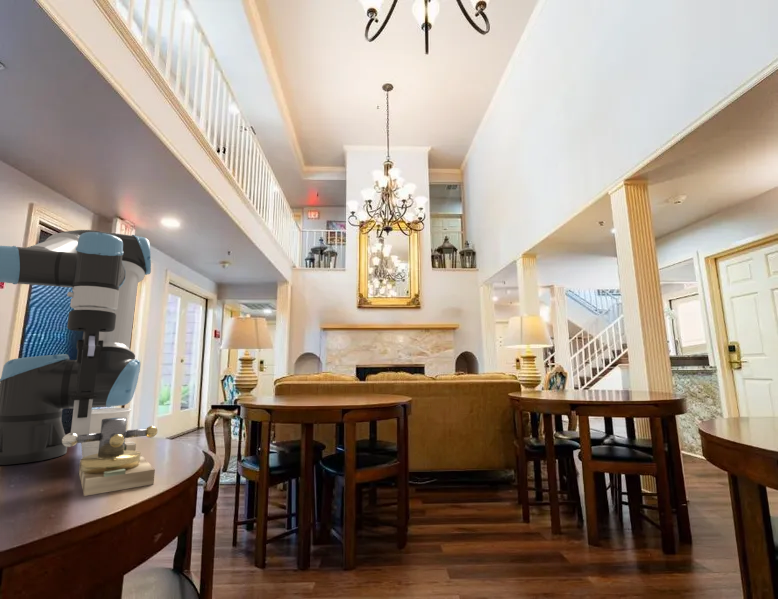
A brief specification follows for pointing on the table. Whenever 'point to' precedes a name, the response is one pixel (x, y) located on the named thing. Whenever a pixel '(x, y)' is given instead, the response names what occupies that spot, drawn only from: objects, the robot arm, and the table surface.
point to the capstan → (109, 446)
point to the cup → (95, 426)
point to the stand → (118, 477)
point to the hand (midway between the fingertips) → (79, 435)
